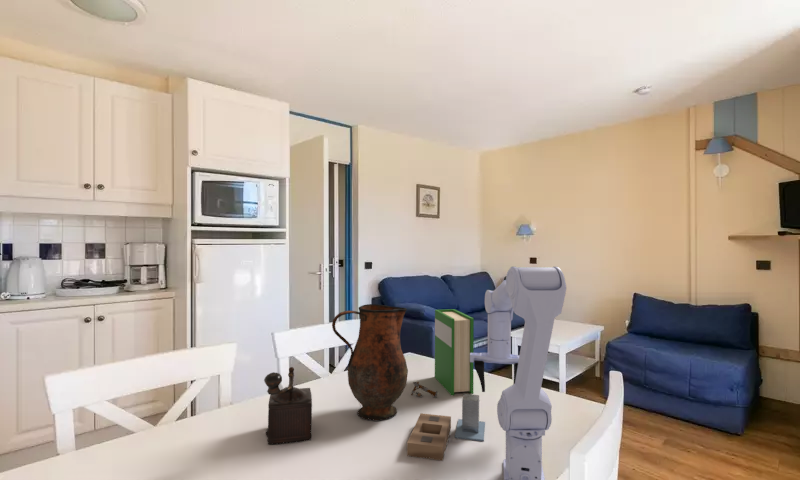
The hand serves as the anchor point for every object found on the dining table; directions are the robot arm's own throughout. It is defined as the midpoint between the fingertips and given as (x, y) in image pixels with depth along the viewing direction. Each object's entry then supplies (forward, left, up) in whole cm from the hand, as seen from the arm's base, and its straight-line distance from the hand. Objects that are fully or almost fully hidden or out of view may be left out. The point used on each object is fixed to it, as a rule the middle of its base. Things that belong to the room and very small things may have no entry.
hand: (499, 392), depth 101 cm
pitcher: (+3, +35, -11) cm, 37 cm away
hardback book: (+32, +15, -11) cm, 37 cm away
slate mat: (0, +7, -10) cm, 13 cm away
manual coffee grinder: (-15, +50, -11) cm, 53 cm away
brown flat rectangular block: (-8, +16, -10) cm, 21 cm away
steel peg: (0, +7, -10) cm, 12 cm away
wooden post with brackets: (+19, +23, -11) cm, 31 cm away
